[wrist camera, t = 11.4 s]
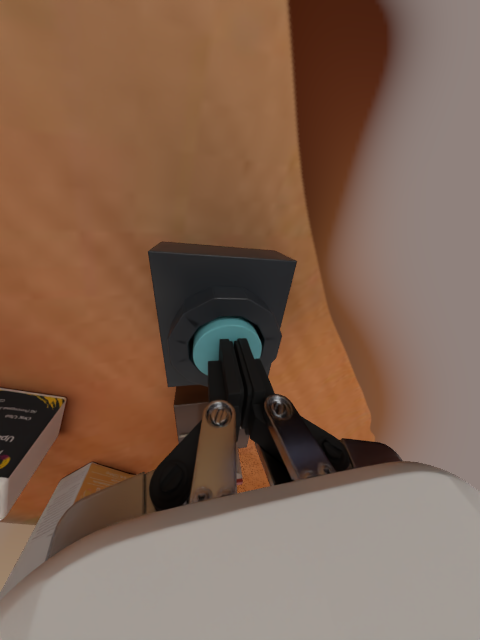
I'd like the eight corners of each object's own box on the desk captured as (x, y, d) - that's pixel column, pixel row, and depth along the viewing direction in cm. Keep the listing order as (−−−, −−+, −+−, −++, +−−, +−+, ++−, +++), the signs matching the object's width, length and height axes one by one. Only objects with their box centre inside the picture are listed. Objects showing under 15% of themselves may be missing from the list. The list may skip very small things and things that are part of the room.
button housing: (161, 241, 13) (136, 258, 8) (275, 250, 15) (314, 268, 10) (173, 355, 18) (163, 409, 13) (256, 351, 20) (275, 397, 15)
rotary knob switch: (176, 382, 20) (173, 407, 18) (251, 376, 22) (258, 398, 20) (182, 434, 26) (180, 459, 23) (242, 426, 28) (247, 448, 25)
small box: (138, 474, 29) (99, 632, 18) (108, 489, 30) (54, 651, 19) (91, 460, 25) (4, 656, 14) (59, 479, 26) (-49, 679, 15)
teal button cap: (192, 308, 11) (191, 325, 10) (258, 309, 12) (267, 324, 11) (194, 360, 14) (193, 381, 12) (250, 357, 14) (256, 376, 13)
